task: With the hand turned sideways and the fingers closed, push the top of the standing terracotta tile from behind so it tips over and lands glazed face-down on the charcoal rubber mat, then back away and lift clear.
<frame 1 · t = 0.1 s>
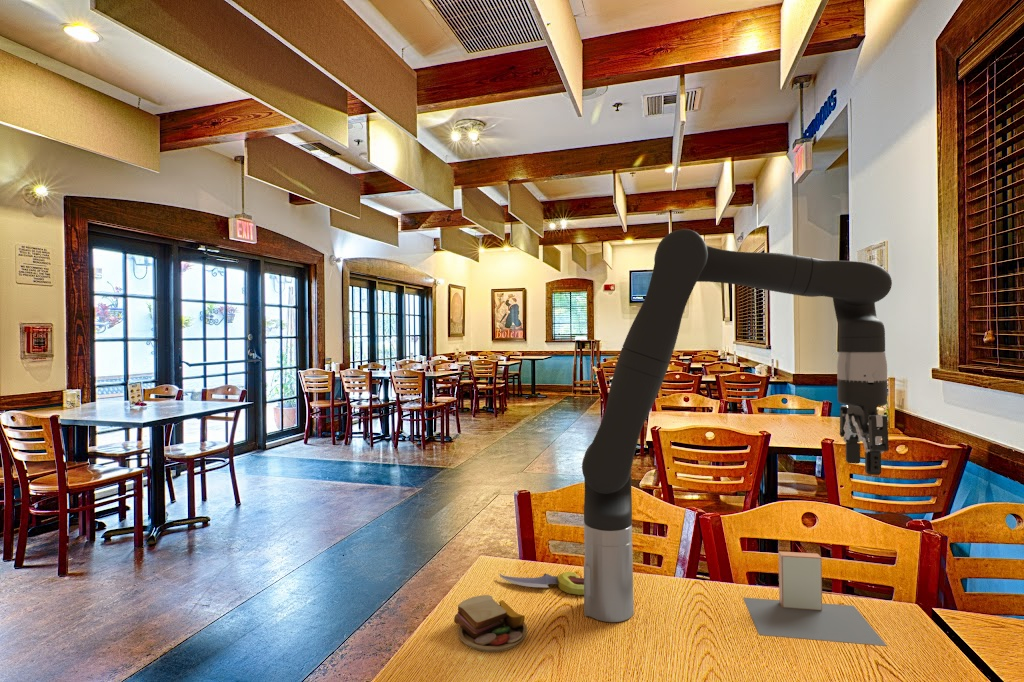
hand: (862, 468, 98), 29 cm above the table, fingers open, 8 cm apart
toy sandwich meal: (489, 636, 100), on the table
knife: (554, 588, 119), on the table
mat: (808, 624, 101), on the table
tile: (800, 606, 106), point 1 cm above the table, touching mat
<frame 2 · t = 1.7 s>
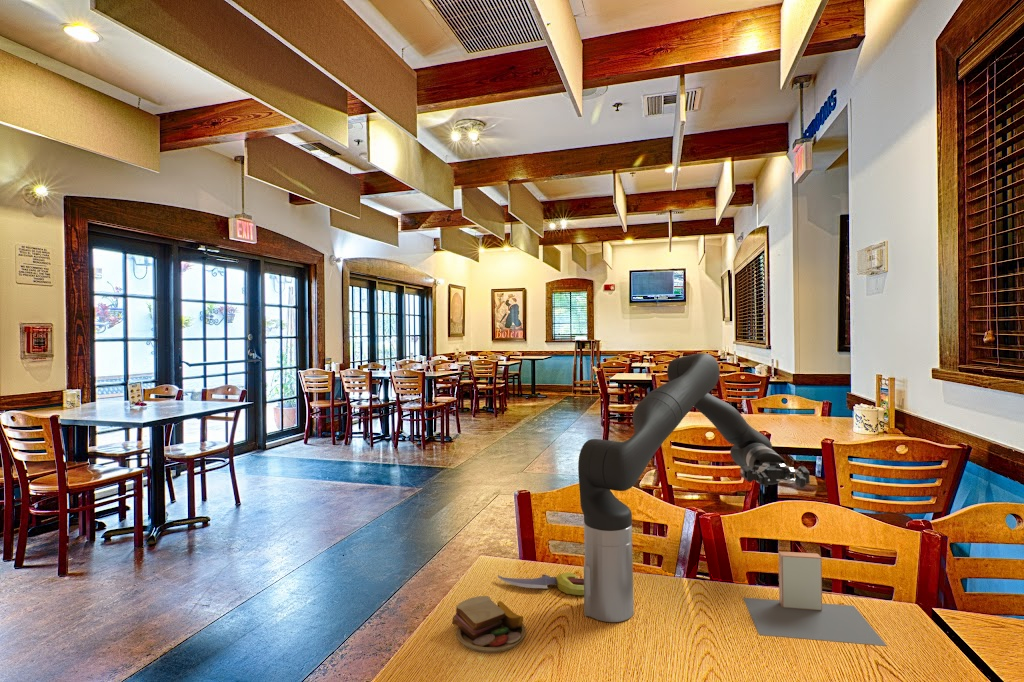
hand: (784, 482, 116), 22 cm above the table, fingers open, 6 cm apart
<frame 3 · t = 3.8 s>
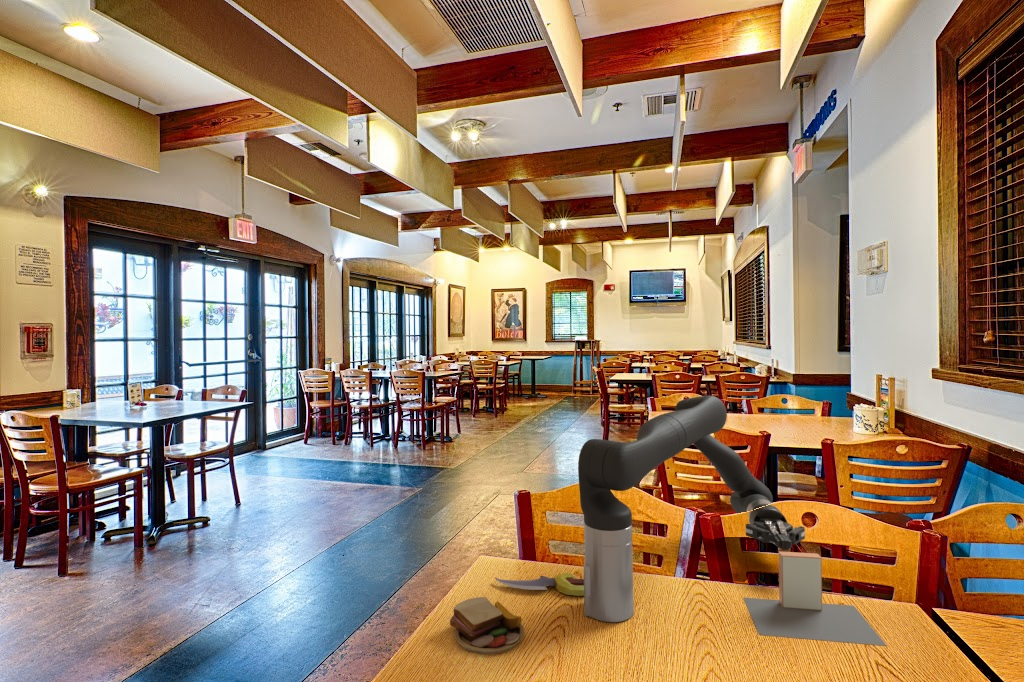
hand: (785, 545, 116), 9 cm above the table, fingers closed
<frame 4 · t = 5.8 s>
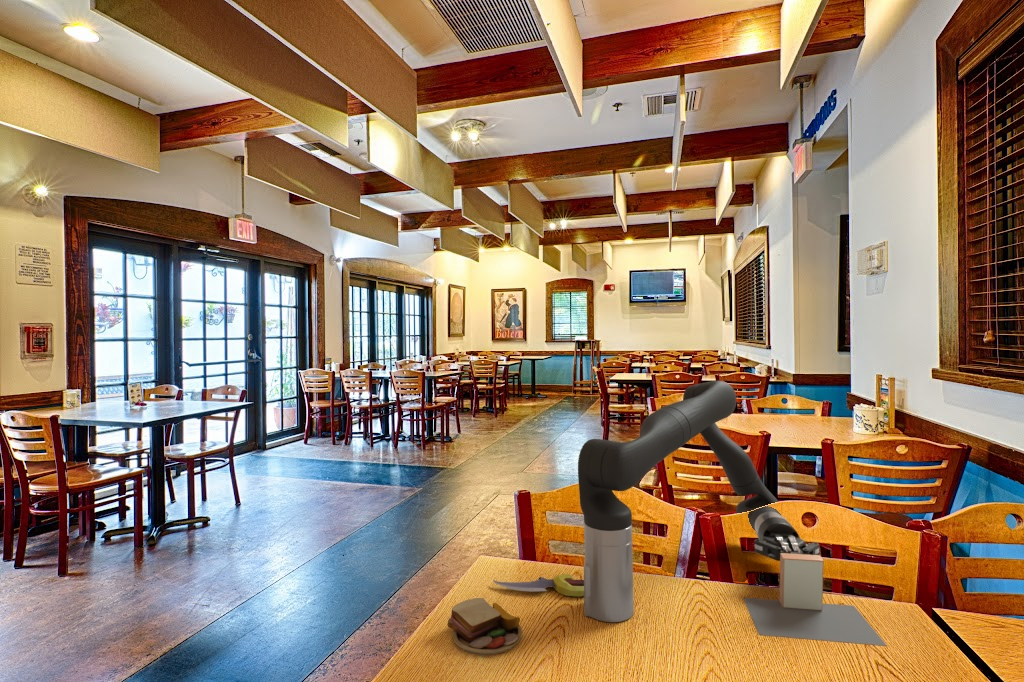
hand: (799, 564, 106), 9 cm above the table, fingers closed
tile: (800, 605, 106), point 1 cm above the table, tilted 7°, touching gripper, mat
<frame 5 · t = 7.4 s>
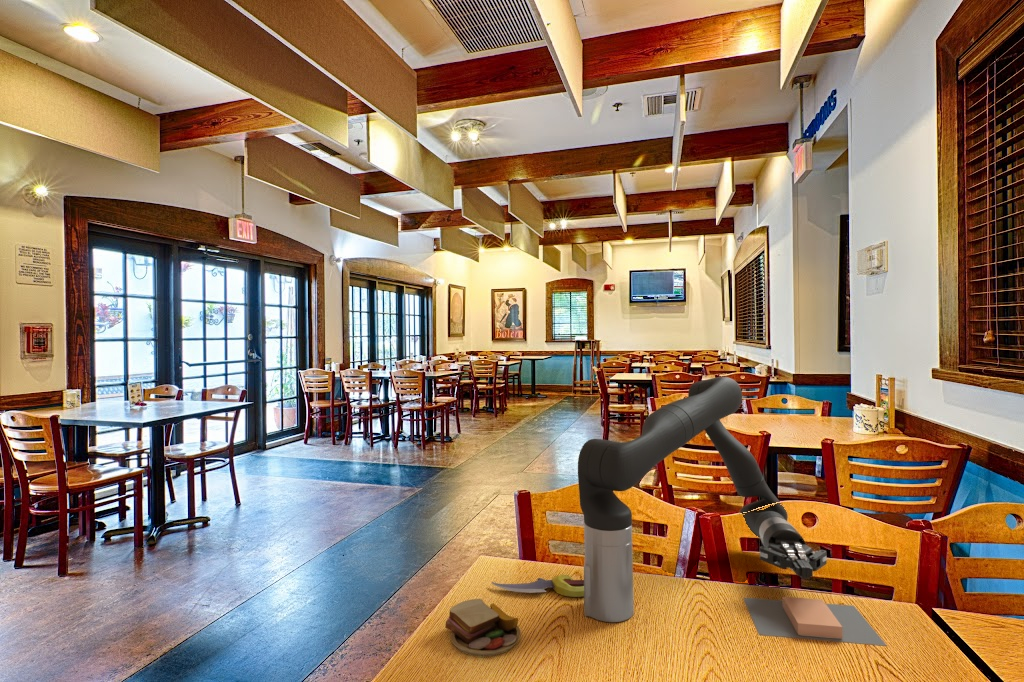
hand: (806, 573, 102), 9 cm above the table, fingers closed
tile: (802, 603, 105), point 2 cm above the table, tilted 90°, touching mat
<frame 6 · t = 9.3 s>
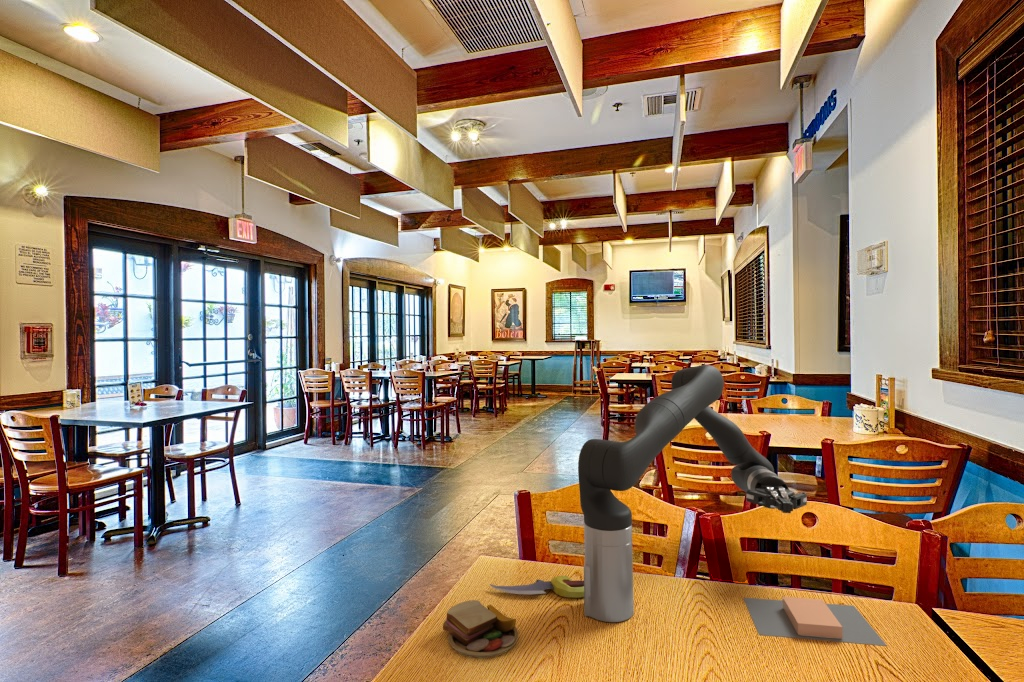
hand: (787, 508, 114), 18 cm above the table, fingers closed
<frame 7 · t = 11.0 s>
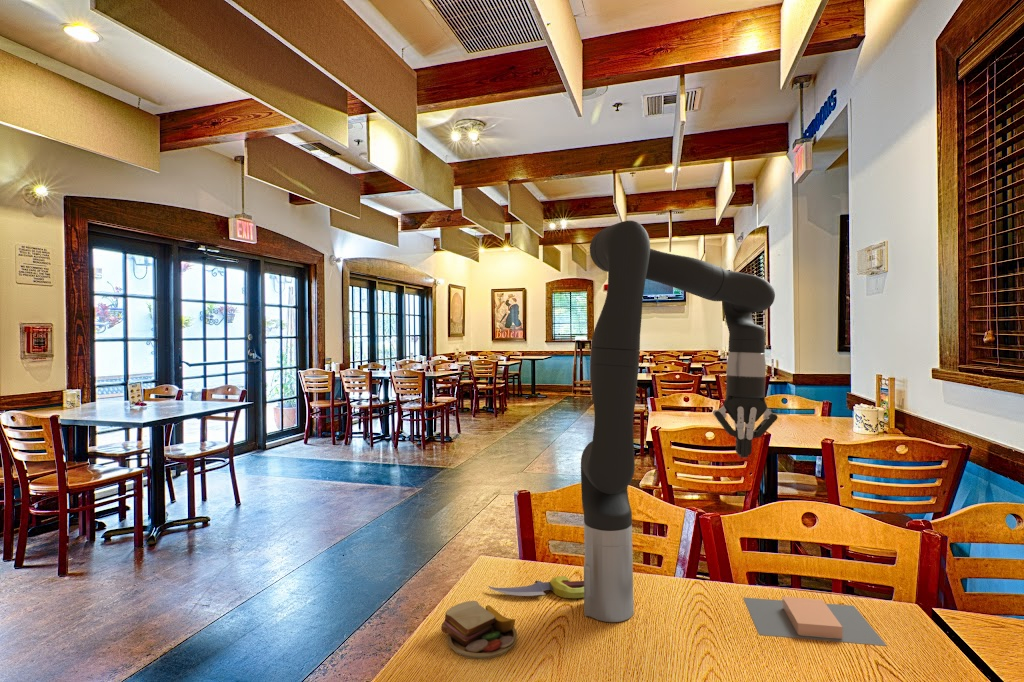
hand: (743, 456, 116), 28 cm above the table, fingers closed
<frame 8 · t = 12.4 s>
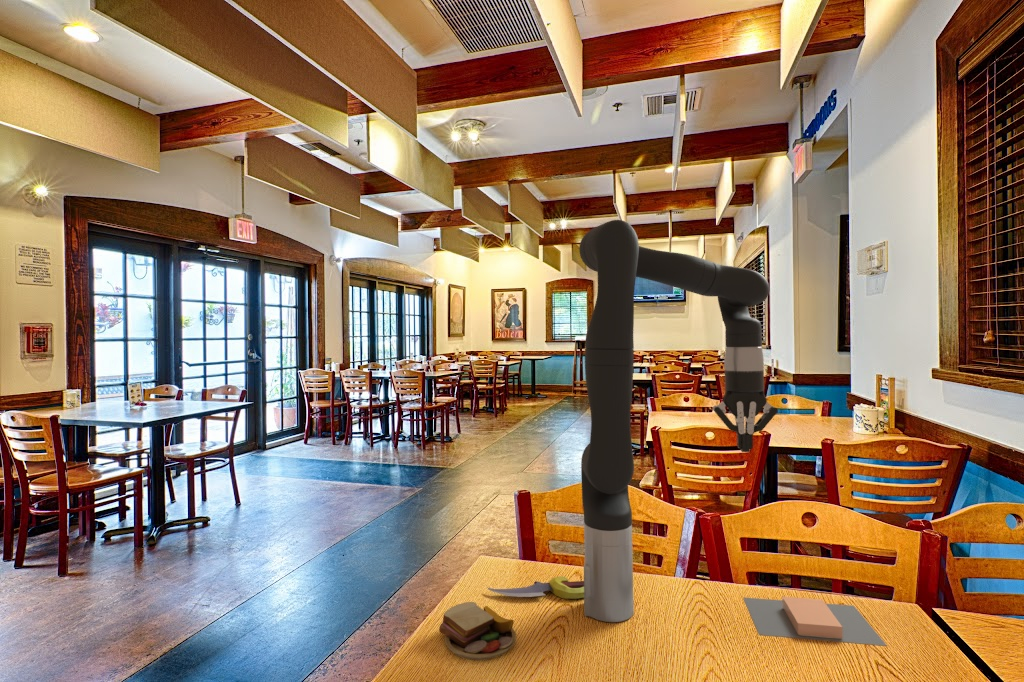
hand: (745, 451, 115), 29 cm above the table, fingers closed
at the end: tile tilted 90°; tile inside the target area (2.3 cm from its centre), point 2.2 cm above the table; tile touching mat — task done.
